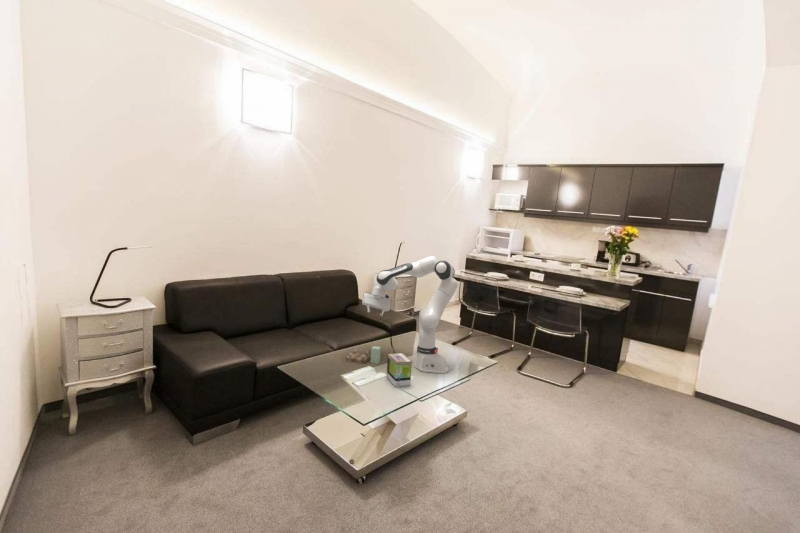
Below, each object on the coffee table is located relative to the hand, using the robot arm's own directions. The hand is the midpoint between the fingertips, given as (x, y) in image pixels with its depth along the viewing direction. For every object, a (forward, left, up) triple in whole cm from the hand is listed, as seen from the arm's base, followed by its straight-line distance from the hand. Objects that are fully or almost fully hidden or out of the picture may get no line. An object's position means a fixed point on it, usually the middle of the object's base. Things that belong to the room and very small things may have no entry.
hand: (375, 313), depth 245 cm
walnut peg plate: (+9, +3, -32) cm, 33 cm away
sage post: (-3, +3, -32) cm, 32 cm away
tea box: (-26, +27, -32) cm, 50 cm away
